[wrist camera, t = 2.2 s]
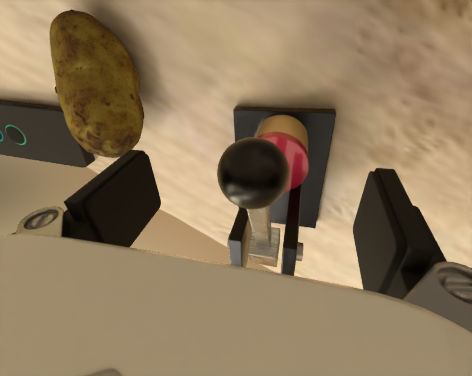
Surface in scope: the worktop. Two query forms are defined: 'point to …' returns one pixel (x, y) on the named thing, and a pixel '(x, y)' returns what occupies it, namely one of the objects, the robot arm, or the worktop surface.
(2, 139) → the smart home device
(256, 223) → the black ball knob
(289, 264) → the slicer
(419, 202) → the worktop surface
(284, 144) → the cake
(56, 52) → the potato
